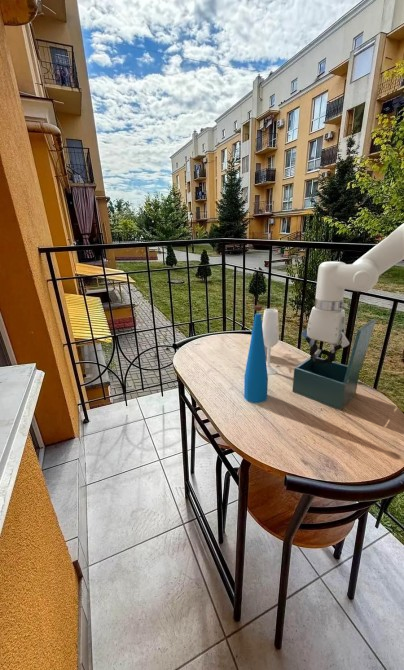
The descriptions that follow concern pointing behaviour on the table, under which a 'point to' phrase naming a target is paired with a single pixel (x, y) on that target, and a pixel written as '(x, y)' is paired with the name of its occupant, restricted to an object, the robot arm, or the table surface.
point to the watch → (318, 355)
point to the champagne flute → (270, 334)
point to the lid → (359, 350)
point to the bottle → (256, 364)
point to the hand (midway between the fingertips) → (321, 359)
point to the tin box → (324, 383)
